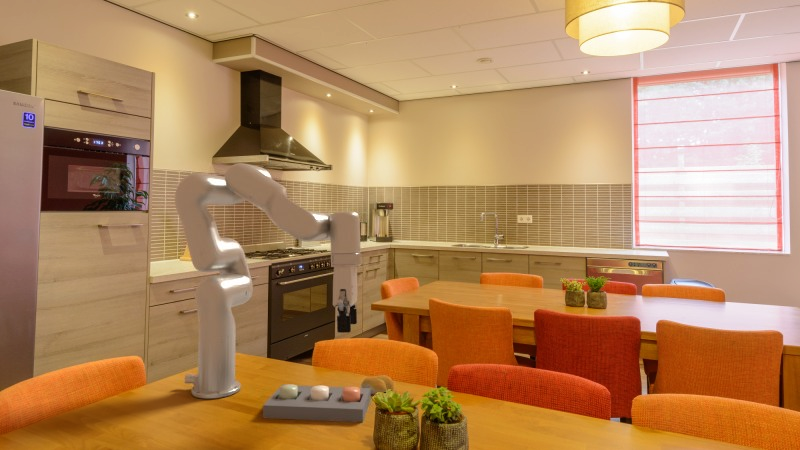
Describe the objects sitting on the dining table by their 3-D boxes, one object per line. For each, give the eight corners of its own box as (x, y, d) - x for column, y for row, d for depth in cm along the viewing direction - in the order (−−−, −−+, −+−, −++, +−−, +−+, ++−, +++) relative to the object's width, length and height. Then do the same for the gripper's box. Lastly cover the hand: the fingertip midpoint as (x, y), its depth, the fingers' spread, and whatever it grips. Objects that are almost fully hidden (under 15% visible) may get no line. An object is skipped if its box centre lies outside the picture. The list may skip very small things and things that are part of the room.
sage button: (277, 404, 115) (277, 390, 115) (282, 397, 120) (282, 383, 119) (294, 404, 115) (294, 390, 115) (299, 398, 119) (299, 384, 119)
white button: (308, 405, 115) (308, 391, 115) (313, 398, 119) (313, 385, 119) (326, 406, 114) (326, 391, 114) (330, 399, 119) (330, 385, 119)
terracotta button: (340, 406, 114) (340, 392, 114) (344, 399, 118) (344, 386, 118) (358, 407, 114) (358, 393, 114) (361, 400, 118) (361, 386, 118)
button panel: (262, 417, 110) (263, 405, 110) (281, 396, 124) (281, 384, 124) (362, 422, 109) (363, 409, 109) (370, 399, 123) (370, 388, 123)
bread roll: (399, 389, 131) (399, 375, 131) (376, 397, 125) (376, 383, 125) (378, 382, 137) (379, 368, 137) (356, 389, 131) (356, 375, 131)
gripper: (337, 258, 126) (339, 321, 126) (323, 263, 109) (325, 336, 109) (365, 257, 126) (366, 321, 126) (355, 262, 109) (357, 335, 109)
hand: (347, 327), depth 117 cm, fingers open, 9 cm apart
